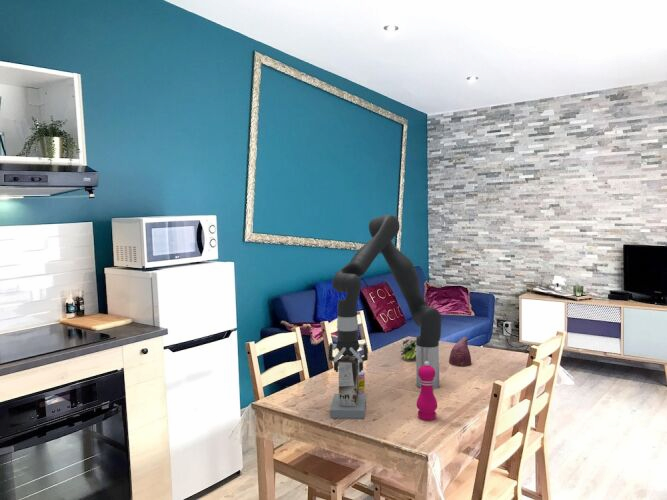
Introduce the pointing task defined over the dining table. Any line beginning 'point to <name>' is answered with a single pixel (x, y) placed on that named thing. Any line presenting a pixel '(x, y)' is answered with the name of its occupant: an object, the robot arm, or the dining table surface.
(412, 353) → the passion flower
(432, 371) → the pepper mill
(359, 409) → the block
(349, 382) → the coffee box
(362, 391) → the supplement bottle
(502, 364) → the dining table surface
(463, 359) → the vegetable
